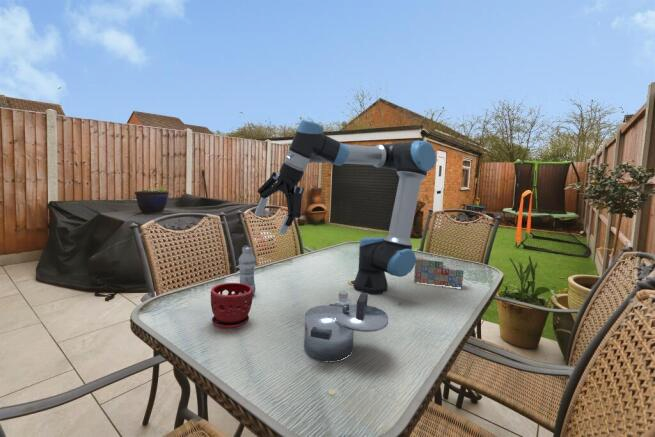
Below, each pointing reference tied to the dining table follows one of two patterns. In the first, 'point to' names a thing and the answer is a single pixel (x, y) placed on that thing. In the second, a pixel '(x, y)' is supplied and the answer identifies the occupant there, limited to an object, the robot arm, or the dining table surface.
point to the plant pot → (231, 305)
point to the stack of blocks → (437, 272)
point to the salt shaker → (342, 298)
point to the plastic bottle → (247, 267)
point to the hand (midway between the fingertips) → (269, 224)
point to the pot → (326, 335)
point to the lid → (361, 316)
